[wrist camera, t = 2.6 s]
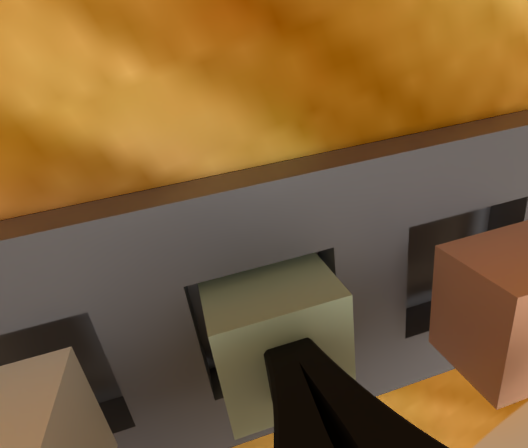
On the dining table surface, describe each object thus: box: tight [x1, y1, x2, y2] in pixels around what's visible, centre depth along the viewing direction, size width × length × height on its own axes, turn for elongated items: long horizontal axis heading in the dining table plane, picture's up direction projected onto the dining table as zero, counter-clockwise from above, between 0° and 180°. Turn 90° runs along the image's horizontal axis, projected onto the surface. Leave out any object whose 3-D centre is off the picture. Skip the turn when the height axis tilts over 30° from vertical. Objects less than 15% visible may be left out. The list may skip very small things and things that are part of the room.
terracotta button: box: [429, 220, 528, 409], centre depth 12 cm, size 4×4×3 cm
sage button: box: [198, 252, 356, 440], centre depth 12 cm, size 4×4×3 cm
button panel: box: [0, 110, 528, 448], centre depth 13 cm, size 10×24×2 cm, turn 98°
